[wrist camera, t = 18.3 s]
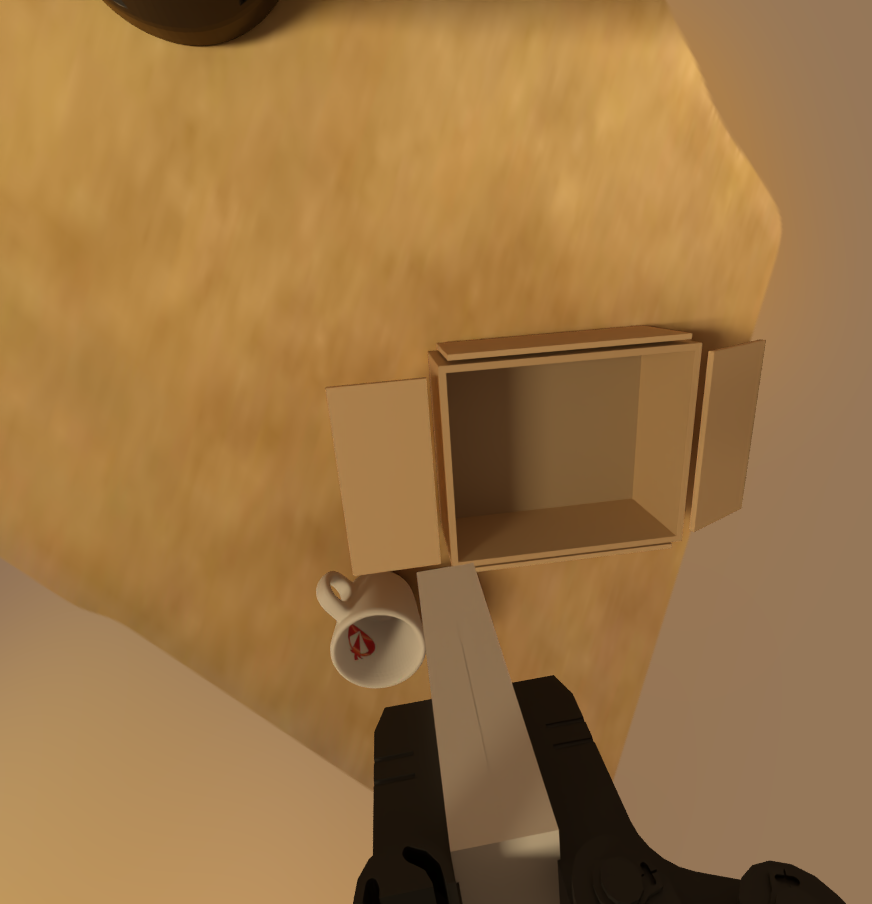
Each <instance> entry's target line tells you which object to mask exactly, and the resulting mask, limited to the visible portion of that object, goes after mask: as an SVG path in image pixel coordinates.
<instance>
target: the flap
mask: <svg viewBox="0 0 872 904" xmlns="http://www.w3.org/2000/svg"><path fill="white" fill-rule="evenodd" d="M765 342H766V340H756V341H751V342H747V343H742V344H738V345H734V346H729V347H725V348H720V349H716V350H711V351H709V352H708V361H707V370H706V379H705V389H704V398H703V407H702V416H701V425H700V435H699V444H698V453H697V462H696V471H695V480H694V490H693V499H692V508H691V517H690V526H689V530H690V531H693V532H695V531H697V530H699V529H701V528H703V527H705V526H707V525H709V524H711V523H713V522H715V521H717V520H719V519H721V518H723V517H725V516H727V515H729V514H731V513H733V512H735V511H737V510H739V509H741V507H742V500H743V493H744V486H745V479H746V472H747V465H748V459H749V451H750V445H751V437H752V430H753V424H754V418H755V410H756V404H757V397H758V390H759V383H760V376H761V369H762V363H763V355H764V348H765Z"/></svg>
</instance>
